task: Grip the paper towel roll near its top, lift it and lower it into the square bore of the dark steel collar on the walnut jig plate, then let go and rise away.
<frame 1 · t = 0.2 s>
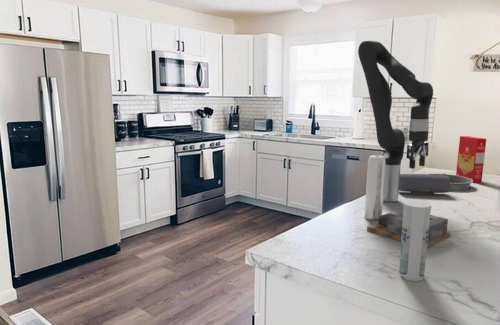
hand: (416, 167, 160), 18 cm above the counter, tool pointing down, fingers open, 8 cm apart
cake pan: (446, 186, 203), on the counter
jig: (407, 233, 130), on the counter
bluetooth speaker: (421, 194, 185), on the counter
paper towel roll: (373, 218, 147), on the counter
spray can: (411, 276, 99), on the counter
food packaging: (468, 180, 217), on the counter
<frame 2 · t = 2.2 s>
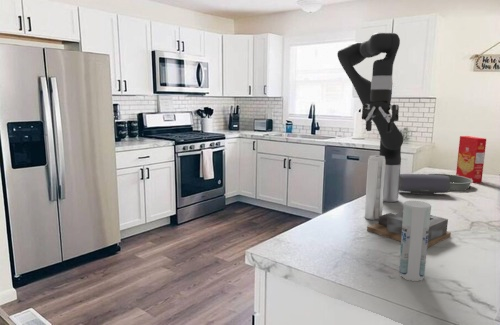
hand: (378, 131, 141), 34 cm above the counter, tool pointing down, fingers open, 8 cm apart
nothing on the counter moved.
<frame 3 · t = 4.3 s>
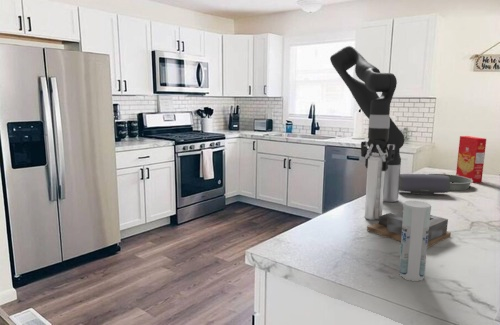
hand: (376, 169, 144), 20 cm above the counter, tool pointing down, fingers closed on paper towel roll, 6 cm apart
paper towel roll: (373, 218, 147), on the counter, touching gripper
everything else where it was.
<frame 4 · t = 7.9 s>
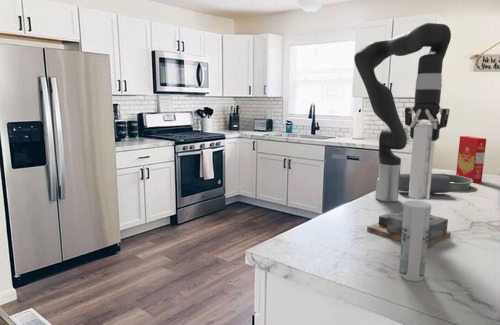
hand: (423, 139, 122), 34 cm above the counter, tool pointing down, fingers closed on paper towel roll, 6 cm apart
paper towel roll: (418, 197, 126), point 14 cm above the counter, touching gripper
everything else where it was.
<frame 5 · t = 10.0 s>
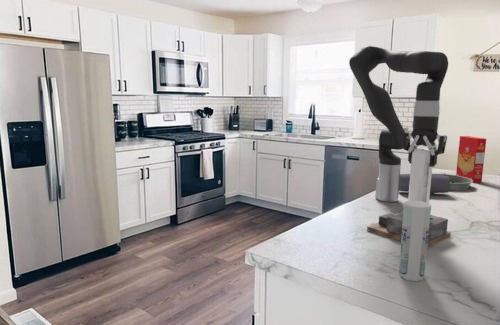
hand: (421, 164, 124), 25 cm above the counter, tool pointing down, fingers closed on paper towel roll, 6 cm apart
paper towel roll: (416, 221, 127), point 5 cm above the counter, touching gripper
everything else where it was.
when the fingers open (23 cm above the counter, at t = 11.7 s): paper towel roll drops 1 cm, resting on jig.
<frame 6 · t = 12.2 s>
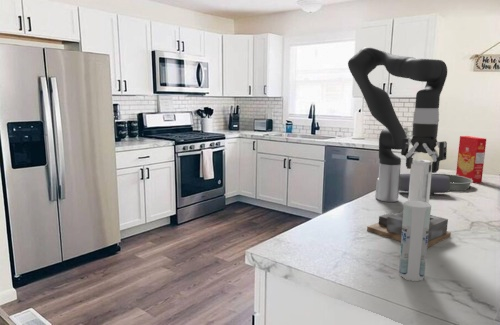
hand: (421, 170, 124), 23 cm above the counter, tool pointing down, fingers open, 8 cm apart
paper towel roll: (416, 232, 128), point 1 cm above the counter, touching jig
everything else where it was.
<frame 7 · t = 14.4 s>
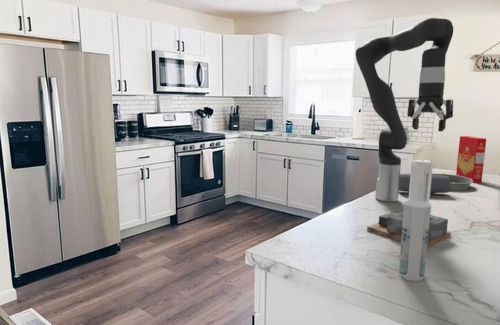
hand: (428, 130, 126), 36 cm above the counter, tool pointing down, fingers open, 8 cm apart
nothing on the counter moved.
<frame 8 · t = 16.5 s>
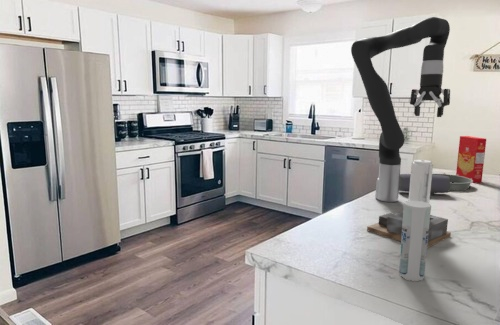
hand: (428, 116, 143), 40 cm above the counter, tool pointing down, fingers open, 8 cm apart
nothing on the counter moved.
at the end: paper towel roll 0.1 cm from the target spot on the jig, point 1.3 cm above the jig's base; paper towel roll tilted 0°; the gripper is holding nothing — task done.
